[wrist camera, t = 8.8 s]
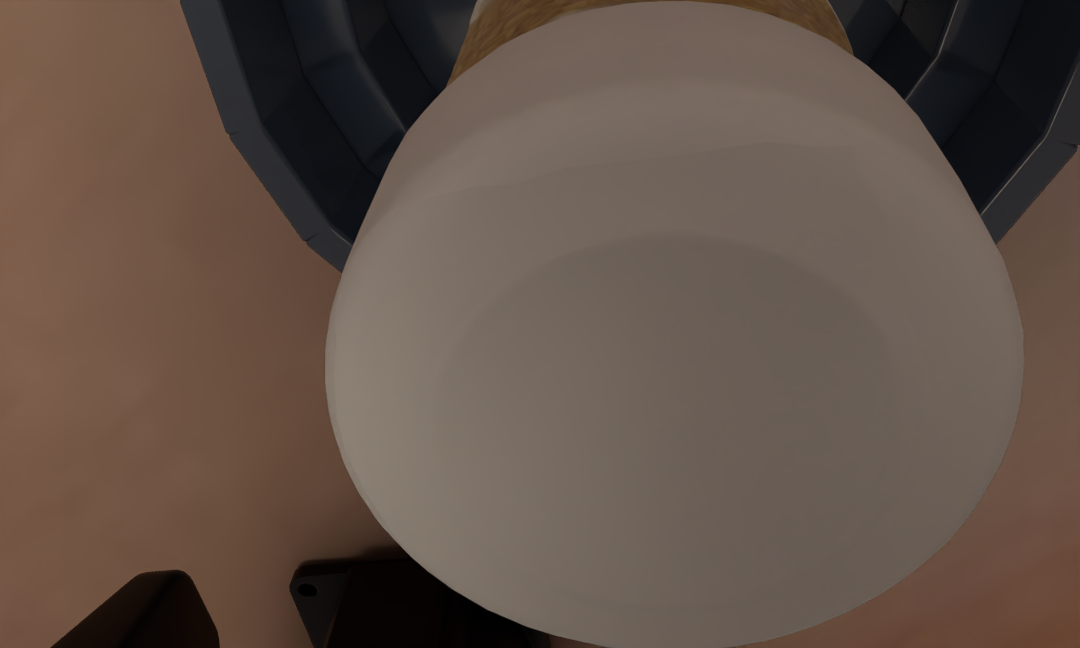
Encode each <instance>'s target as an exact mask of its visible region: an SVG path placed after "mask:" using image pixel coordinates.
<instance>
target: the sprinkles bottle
mask: <svg viewBox="0 0 1080 648" xmlns="http://www.w3.org/2000/svg"><path fill="white" fill-rule="evenodd" d="M1023 371H1024V341H1023V329H1022V324H1021V320H1020V315H1019V311H1018V306H1017V302H1016V297H1015V294H1014V291H1013V287H1012V284H1011V281H1010V278H1009V275H1008V272H1007V269H1006V266H1005V263H1004V260H1003V258H1002V256H1001V254H1000V252H999V250H998V248H997V247H996V245H995V243H994V241H993V239H992V237H991V236H990V234H989V232H988V230H987V228H986V226H985V225H984V223H983V221H982V219H981V217H980V215H979V214H978V212H977V210H976V208H975V206H974V204H973V203H972V201H971V199H970V197H969V195H968V193H967V192H966V190H965V188H964V186H963V184H962V182H961V181H960V179H959V178H958V176H957V174H956V173H955V171H954V170H953V168H952V167H951V165H950V164H949V162H948V161H947V159H946V158H945V156H944V155H943V153H942V151H941V150H940V148H939V147H938V145H937V144H936V142H935V141H934V139H933V138H932V136H931V135H930V133H929V132H928V130H927V129H926V127H925V126H924V124H923V123H922V121H921V120H920V118H919V117H918V116H917V114H916V113H915V112H914V111H913V110H912V109H911V108H910V107H909V105H908V104H907V103H906V102H905V101H904V100H903V99H902V98H901V96H900V95H899V94H898V93H897V92H896V91H895V90H894V88H892V87H891V86H890V85H889V84H888V83H887V82H886V81H884V80H883V79H882V78H881V77H880V76H879V75H877V74H876V73H875V72H874V71H873V70H872V69H871V68H869V67H868V66H867V65H866V64H864V63H863V62H861V61H860V60H858V59H857V58H855V57H854V55H853V51H852V48H851V45H850V43H849V40H848V38H847V35H846V33H845V30H844V28H843V26H842V24H841V23H840V21H839V19H838V17H837V15H836V13H835V12H834V10H833V8H832V6H831V4H830V3H829V1H828V0H477V2H476V5H475V8H474V11H473V13H472V16H471V19H470V24H469V29H468V32H467V35H466V38H465V40H464V43H463V45H462V47H461V50H460V53H459V56H458V58H457V61H456V63H455V65H454V68H453V72H452V74H451V77H450V79H449V81H448V83H447V86H446V88H445V89H444V90H443V91H442V92H441V93H440V95H439V96H438V97H437V98H436V99H435V100H434V101H433V102H432V103H431V104H430V105H429V106H428V108H427V109H426V110H425V111H424V112H423V113H422V114H421V115H420V117H419V118H418V119H417V120H416V122H415V123H414V124H413V125H412V127H411V128H410V129H409V130H408V131H407V133H406V134H405V136H404V138H403V140H402V142H401V143H400V145H399V147H398V149H397V150H396V152H395V154H394V156H393V158H392V159H391V161H390V163H389V165H388V167H387V170H386V172H385V174H384V176H383V178H382V181H381V183H380V185H379V187H378V190H377V192H376V194H375V196H374V199H373V201H372V203H371V205H370V208H369V210H368V212H367V214H366V216H365V219H364V221H363V223H362V225H361V228H360V230H359V233H358V235H357V237H356V240H355V242H354V245H353V247H352V250H351V252H350V254H349V257H348V259H347V262H346V264H345V267H344V270H343V273H342V276H341V279H340V282H339V285H338V289H337V292H336V295H335V299H334V302H333V306H332V309H331V313H330V319H329V326H328V333H327V340H326V347H325V388H326V395H327V402H328V410H329V417H330V420H331V424H332V428H333V431H334V435H335V438H336V441H337V444H338V447H339V450H340V453H341V456H342V459H343V462H344V465H345V467H346V469H347V471H348V473H349V475H350V477H351V479H352V481H353V483H354V485H355V487H356V489H357V491H358V493H359V494H360V496H361V497H362V499H363V500H364V501H365V503H366V504H367V506H368V507H369V509H370V511H371V512H372V514H373V515H374V517H375V518H376V519H377V521H378V522H379V523H380V525H381V526H382V527H383V528H384V529H385V530H386V531H387V532H388V533H389V535H390V536H391V537H392V538H393V539H394V540H395V541H396V542H397V543H398V544H399V545H400V546H401V547H402V548H403V549H404V550H405V551H406V552H407V553H408V554H409V555H410V556H411V557H412V558H413V559H414V560H415V561H416V562H418V563H419V564H420V565H421V566H422V567H423V568H425V569H426V570H427V571H428V572H429V573H431V574H432V575H434V576H435V577H436V578H438V579H439V580H440V581H442V582H443V583H445V584H446V585H447V586H449V587H450V588H452V589H453V590H454V591H456V592H458V593H460V594H461V595H463V596H465V597H466V598H468V599H470V600H471V601H473V602H475V603H477V604H478V605H480V606H482V607H483V608H485V609H487V610H489V611H492V612H494V613H496V614H499V615H501V616H503V617H505V618H508V619H510V620H512V621H515V622H517V623H519V624H522V625H524V626H526V627H529V628H533V629H536V630H539V631H542V632H545V633H548V634H552V635H555V636H559V637H563V638H568V639H572V640H576V641H581V642H585V643H590V644H594V645H598V646H603V647H610V648H726V647H734V646H739V645H745V644H751V643H757V642H762V641H767V640H771V639H774V638H778V637H782V636H785V635H788V634H791V633H794V632H798V631H801V630H804V629H807V628H810V627H813V626H816V625H818V624H821V623H823V622H826V621H828V620H830V619H833V618H835V617H837V616H840V615H842V614H844V613H847V612H849V611H850V610H852V609H854V608H856V607H858V606H860V605H862V604H864V603H865V602H867V601H869V600H871V599H873V598H875V597H877V596H878V595H880V594H882V593H883V592H885V591H886V590H888V589H889V588H891V587H892V586H894V585H895V584H897V583H899V582H900V581H901V580H903V579H904V578H905V577H906V576H908V575H909V574H910V573H912V572H913V571H914V570H916V569H917V568H918V567H920V566H921V565H922V564H923V563H925V562H926V561H927V560H928V559H929V558H930V557H931V556H932V555H934V554H935V553H936V552H937V551H938V550H939V549H940V548H941V547H943V546H944V545H945V544H946V543H947V542H948V541H949V540H950V539H951V537H952V536H953V535H954V534H955V533H956V532H957V531H958V530H959V528H960V527H961V526H962V525H963V524H964V522H965V521H966V520H967V518H968V517H969V516H970V514H971V513H972V512H973V510H974V509H975V508H976V506H977V505H978V504H979V502H980V501H981V499H982V497H983V495H984V494H985V492H986V490H987V488H988V486H989V485H990V483H991V481H992V479H993V478H994V476H995V474H996V472H997V470H998V469H999V467H1000V465H1001V463H1002V461H1003V458H1004V455H1005V453H1006V450H1007V447H1008V445H1009V442H1010V439H1011V436H1012V433H1013V430H1014V427H1015V424H1016V420H1017V416H1018V411H1019V406H1020V401H1021V393H1022V382H1023Z"/></svg>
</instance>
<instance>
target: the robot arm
mask: <svg viewBox="0 0 1080 648" xmlns="http://www.w3.org/2000/svg"><path fill="white" fill-rule="evenodd" d="M308 584H311V585H308ZM312 585H313V586H312ZM289 588H290V593H291V595H292V597H293V600H294V602H295V604H296V607H297V609H298V611H299V614H300V616H301V618H302V621H303V623H304V625H305V628H306V630H307V632H308V635H309V637H310V639H311V642H312V644H313V646H314V648H551V646H550V642H549V638H548V634H547V633H545V632H542V631H539V630H536V629H533V628H529V627H526V626H524V625H522V624H519V623H517V622H515V621H512V620H510V619H508V618H505V617H503V616H501V615H499V614H496V613H494V612H492V611H489V610H487V609H485V608H483V607H482V606H480V605H478V604H477V603H475V602H473V601H471V600H470V599H468V598H466V597H465V596H463V595H461V594H460V593H458V592H456V591H454V590H453V589H452V588H450V587H449V586H447V585H446V584H445V583H443V582H442V581H440V580H439V579H438V578H436V577H435V576H434V575H432V574H431V573H429V572H428V571H427V570H426V569H425V568H423V567H422V566H421V565H420V564H419V563H418V562H416V561H415V560H414V559H413V558H407V559H393V560H379V561H365V562H351V563H338V564H324V565H310V566H303V567H300V568H298V569H297V570H296V571H295V573H294V575H293V578H292V580H291V583H290V586H289ZM51 648H220V645H219V637H218V632H217V629H216V627H215V625H214V623H213V621H212V619H211V617H210V614H209V612H208V610H207V608H206V606H205V604H204V602H203V600H202V598H201V596H200V594H199V592H198V590H197V588H196V586H195V584H194V582H193V580H192V579H191V577H190V576H189V575H188V574H186V573H185V572H184V571H180V570H167V571H155V572H146V573H142V574H139V575H137V576H135V577H134V578H133V579H131V580H130V581H129V582H128V583H127V584H125V585H124V586H123V587H122V588H121V589H119V590H118V591H117V592H116V593H115V594H114V595H112V596H111V597H110V598H109V599H108V600H106V601H105V602H104V603H103V604H102V605H100V606H99V607H98V608H97V609H96V610H95V611H93V612H92V613H91V614H90V615H89V616H87V617H86V618H85V619H84V620H83V621H81V622H80V623H79V624H78V625H77V626H76V627H74V628H73V629H72V630H71V631H70V632H68V633H67V634H66V635H65V636H64V637H62V638H61V639H60V640H59V641H58V642H57V643H55V644H54V645H53V646H52V647H51Z"/></svg>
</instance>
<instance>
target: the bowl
mask: <svg viewBox="0 0 1080 648" xmlns="http://www.w3.org/2000/svg"><path fill="white" fill-rule="evenodd" d="M828 1H829V3H830V4H831V6H832V8H833V10H834V12H835V13H836V15H837V17H838V19H839V21H840V23H841V24H842V26H843V28H844V30H845V33H846V35H847V38H848V40H849V43H850V45H851V48H852V51H853V55H854V57H855V58H857V59H858V60H860V61H861V62H863V63H864V64H866V65H867V66H868V67H869V68H871V69H872V70H873V71H874V72H875V73H876V74H877V75H879V76H880V77H881V78H882V79H883V80H884V81H886V82H887V83H888V84H889V85H890V86H891V87H892V88H894V90H895V91H896V92H897V93H898V94H899V95H900V96H901V98H902V99H903V100H904V101H905V102H906V103H907V104H908V105H909V107H910V108H911V109H912V110H913V111H914V112H915V113H916V114H917V116H918V117H919V118H920V120H921V121H922V123H923V124H924V126H925V127H926V129H927V130H928V132H929V133H930V135H931V136H932V138H933V139H934V141H935V142H936V144H937V145H938V147H939V148H940V150H941V151H942V153H943V155H944V156H945V158H946V159H947V161H948V162H949V164H950V165H951V167H952V168H953V170H954V171H955V173H956V174H957V176H958V178H959V179H960V181H961V182H962V184H963V186H964V188H965V190H966V192H967V193H968V195H969V197H970V199H971V201H972V203H973V204H974V206H975V208H976V210H977V212H978V214H979V215H980V217H981V219H982V221H983V223H984V225H985V226H986V228H987V230H988V232H989V234H990V236H991V237H992V239H993V241H994V243H995V245H996V244H997V243H998V242H999V241H1000V240H1001V239H1002V237H1003V236H1004V235H1005V234H1006V233H1007V232H1008V230H1009V229H1010V228H1011V227H1012V226H1013V225H1014V223H1015V222H1016V221H1017V220H1018V219H1019V218H1020V216H1021V215H1022V214H1023V213H1024V212H1025V211H1026V209H1027V208H1028V207H1029V206H1030V205H1031V204H1032V202H1033V201H1034V200H1035V199H1036V198H1037V197H1038V195H1039V194H1040V193H1041V192H1042V191H1043V190H1044V188H1045V187H1046V186H1047V185H1048V184H1049V183H1050V181H1051V180H1052V179H1053V178H1054V177H1055V176H1056V175H1057V173H1058V172H1059V171H1060V170H1061V169H1062V168H1063V166H1064V165H1065V164H1066V163H1067V162H1068V161H1069V159H1070V158H1071V157H1072V156H1073V155H1074V154H1075V152H1076V151H1077V149H1078V146H1077V145H1080V0H828ZM476 2H477V0H180V4H181V7H182V9H183V12H184V15H185V18H186V21H187V24H188V26H189V29H190V32H191V35H192V38H193V40H194V43H195V46H196V49H197V52H198V55H199V57H200V60H201V63H202V66H203V69H204V71H205V74H206V77H207V80H208V83H209V86H210V88H211V91H212V94H213V97H214V100H215V102H216V105H217V108H218V111H219V114H220V117H221V119H222V122H223V125H224V128H225V131H226V133H227V134H230V135H229V136H230V139H231V141H232V142H233V143H234V145H235V146H236V148H237V149H238V150H239V152H240V153H241V155H242V156H243V157H244V159H245V160H246V162H247V163H248V164H249V166H250V167H251V169H252V170H253V171H254V173H255V174H256V176H257V177H258V178H259V180H260V181H261V183H262V184H263V185H264V187H265V188H266V190H267V191H268V192H269V194H270V195H271V197H272V198H273V199H274V201H275V202H276V204H277V205H278V206H279V208H280V209H281V211H282V212H283V213H284V215H285V216H286V218H287V219H288V220H289V222H290V223H291V225H292V226H293V227H294V229H295V230H296V232H297V233H298V234H299V236H300V237H301V239H302V240H303V241H307V245H308V246H309V247H310V248H311V249H313V250H314V251H315V252H316V253H318V254H319V255H320V256H321V257H322V258H324V259H325V260H326V261H327V262H329V263H330V264H331V265H332V266H334V267H335V268H336V269H337V270H339V271H340V272H341V273H343V270H344V267H345V264H346V262H347V259H348V257H349V254H350V252H351V250H352V247H353V245H354V242H355V240H356V237H357V235H358V233H359V230H360V228H361V225H362V223H363V221H364V219H365V216H366V214H367V212H368V210H369V208H370V205H371V203H372V201H373V199H374V196H375V194H376V192H377V190H378V187H379V185H380V183H381V181H382V178H383V176H384V174H385V172H386V170H387V167H388V165H389V163H390V161H391V159H392V158H393V156H394V154H395V152H396V150H397V149H398V147H399V145H400V143H401V142H402V140H403V138H404V136H405V134H406V133H407V131H408V130H409V129H410V128H411V127H412V125H413V124H414V123H415V122H416V120H417V119H418V118H419V117H420V115H421V114H422V113H423V112H424V111H425V110H426V109H427V108H428V106H429V105H430V104H431V103H432V102H433V101H434V100H435V99H436V98H437V97H438V96H439V95H440V93H441V92H442V91H443V90H444V89H445V88H446V86H447V83H448V81H449V79H450V77H451V74H452V72H453V68H454V65H455V63H456V61H457V58H458V56H459V53H460V50H461V47H462V45H463V43H464V40H465V38H466V35H467V32H468V29H469V24H470V19H471V16H472V13H473V11H474V8H475V5H476Z"/></svg>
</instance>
